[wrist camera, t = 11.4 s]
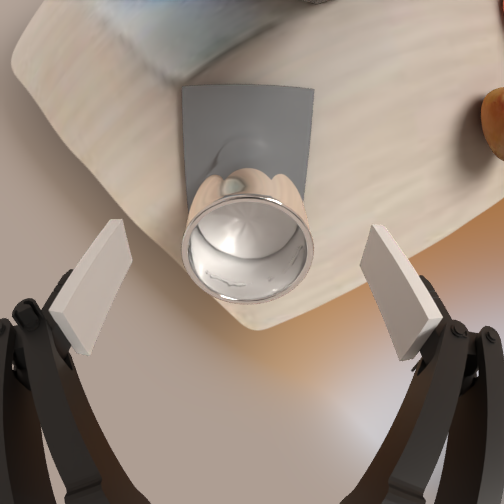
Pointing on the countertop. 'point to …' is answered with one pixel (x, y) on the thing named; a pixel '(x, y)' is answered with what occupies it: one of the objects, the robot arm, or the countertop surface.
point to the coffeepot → (316, 1)
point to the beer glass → (247, 227)
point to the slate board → (245, 126)
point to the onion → (494, 121)
